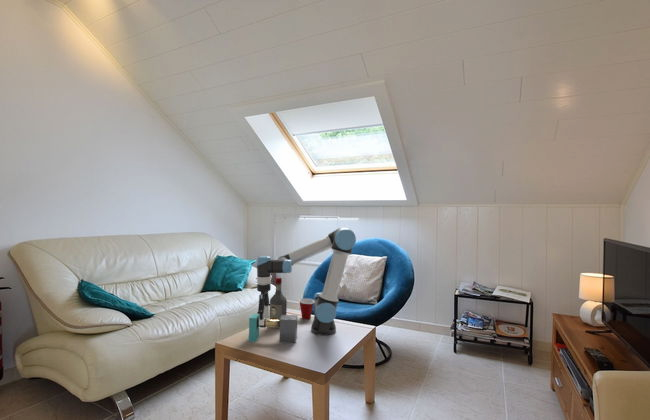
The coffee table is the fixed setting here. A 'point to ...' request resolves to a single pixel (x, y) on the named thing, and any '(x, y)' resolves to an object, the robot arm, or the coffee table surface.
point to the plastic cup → (306, 307)
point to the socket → (253, 328)
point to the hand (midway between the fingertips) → (263, 321)
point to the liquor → (278, 303)
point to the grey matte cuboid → (288, 328)
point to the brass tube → (269, 323)
